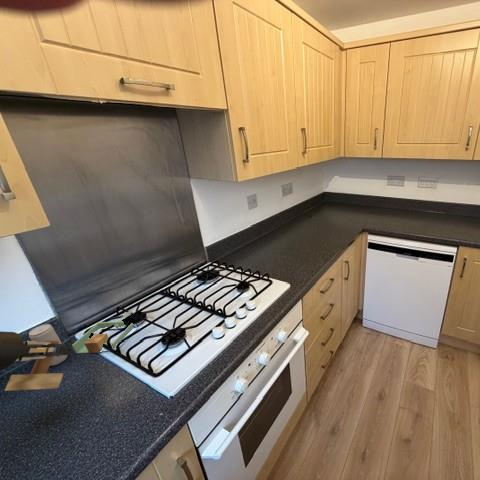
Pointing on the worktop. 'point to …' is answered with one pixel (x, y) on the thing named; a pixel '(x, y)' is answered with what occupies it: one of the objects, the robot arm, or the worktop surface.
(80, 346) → the pale green curved piece
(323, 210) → the worktop surface
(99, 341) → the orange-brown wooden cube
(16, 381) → the wooden t-shaped piece
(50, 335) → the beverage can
